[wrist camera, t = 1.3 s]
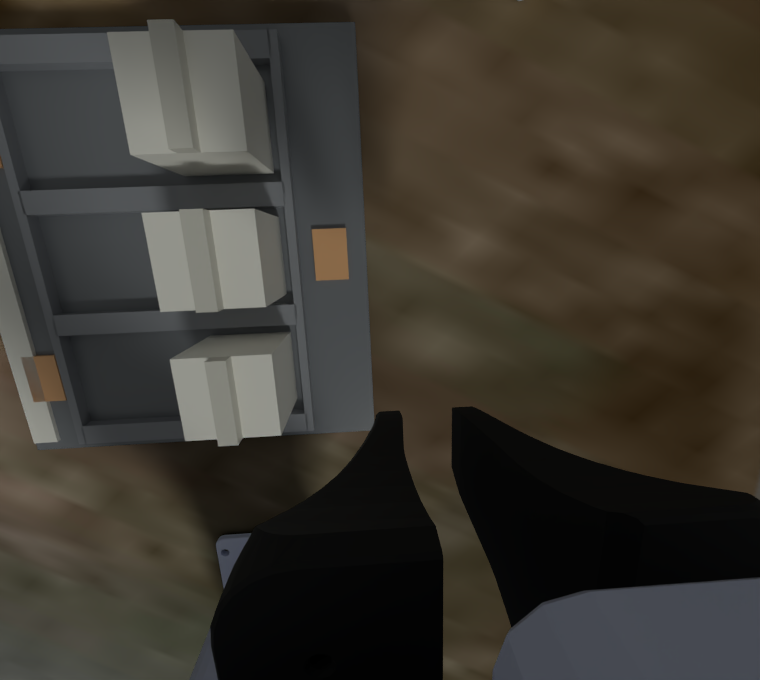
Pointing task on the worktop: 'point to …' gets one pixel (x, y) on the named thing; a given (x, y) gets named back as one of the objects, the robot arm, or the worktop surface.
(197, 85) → the grey ridged block
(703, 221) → the worktop surface
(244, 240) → the grey ridged block
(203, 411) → the grey ridged block
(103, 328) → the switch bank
